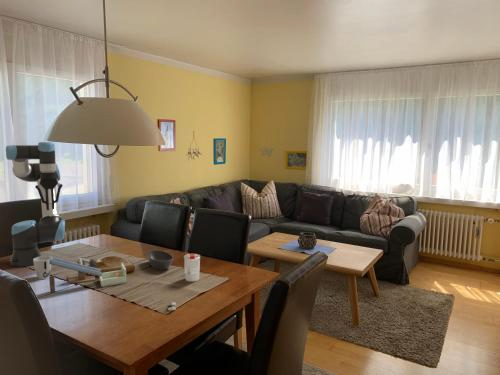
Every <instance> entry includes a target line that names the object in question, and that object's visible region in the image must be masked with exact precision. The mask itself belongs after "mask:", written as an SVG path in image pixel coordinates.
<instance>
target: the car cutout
mask: <svg viewBox="0 0 500 375" xmlns="http://www.w3.org/2000/svg"><path fill="white" fill-rule="evenodd" d="M167 305H168V306H170V307H168V309H167V310H168V311H177V308H176V307H175V306H176V305H177V303H176V301H171V302H168V304H167Z"/></svg>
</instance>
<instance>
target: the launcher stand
mask: <svg viewBox="0 0 500 375" xmlns="http://www.w3.org/2000/svg"><path fill="white" fill-rule="evenodd" d="M76 263H77V264H80V261H79V259H78V260H77V262H76ZM82 264H83V265H85V264H86V262H84V260H83V261H82ZM85 266H86V265H85ZM95 276H96V275H94V276H86V275H85V273H84V272H80V271H77V274H72V275H67V278H68V285H74V284H82V283H87V282H92V281H96V277H95ZM48 278H49V293H51V294H53V293H55V292H56V281H55V275H50V276H49V277H48Z"/></svg>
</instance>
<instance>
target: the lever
mask: <svg viewBox="0 0 500 375" xmlns="http://www.w3.org/2000/svg"><path fill="white" fill-rule="evenodd" d="M78 260H79V264H78V263H77V262H74V261H70V260H65V259H62V258H57V257H54V256H51V258H50V261H49V264H51V266H56V267H60V268H65V269H68V270H73V271H77V272H78V271H80V272H84V273H88V274H92V275H94V276H97V277H99V276H100V277H101V275H102V273H103V272H101V271H102V269H100V268H96V266H97V265H98V262H97V259H96V258H90V259H89V260H88V259H85V258H81V257H79V258H78ZM83 260H84V263H88V265H89V266H88V265H83V264H82V263H83Z"/></svg>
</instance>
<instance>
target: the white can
mask: <svg viewBox="0 0 500 375" xmlns="http://www.w3.org/2000/svg"><path fill="white" fill-rule="evenodd" d="M183 259H184V261H183V262H184V263H183V264H184V274H185V276H184V277H185V278H184V279H185V281H187V282H190V283H191V282H197V281H199V280H200V269H201V267H200V266H201V264H200V263H201V255H200V254H198V253H187V254H185V255H183Z"/></svg>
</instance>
